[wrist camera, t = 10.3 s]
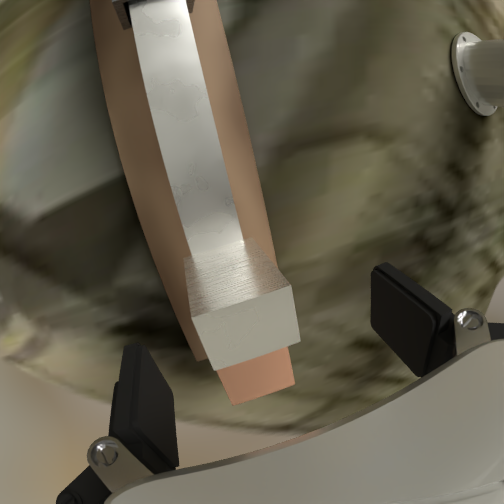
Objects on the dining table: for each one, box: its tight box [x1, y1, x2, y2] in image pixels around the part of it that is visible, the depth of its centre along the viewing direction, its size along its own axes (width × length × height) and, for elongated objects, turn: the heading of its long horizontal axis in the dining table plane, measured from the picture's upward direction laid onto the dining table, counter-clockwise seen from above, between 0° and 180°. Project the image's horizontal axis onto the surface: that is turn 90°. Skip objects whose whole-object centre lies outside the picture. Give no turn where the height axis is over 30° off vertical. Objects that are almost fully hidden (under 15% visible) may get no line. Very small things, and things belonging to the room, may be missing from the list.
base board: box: [90, 0, 278, 362], centre depth 20 cm, size 10×48×2 cm, turn 12°
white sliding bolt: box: [128, 0, 301, 371], centre depth 13 cm, size 4×27×9 cm, turn 12°
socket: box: [216, 346, 295, 406], centre depth 23 cm, size 5×7×8 cm
